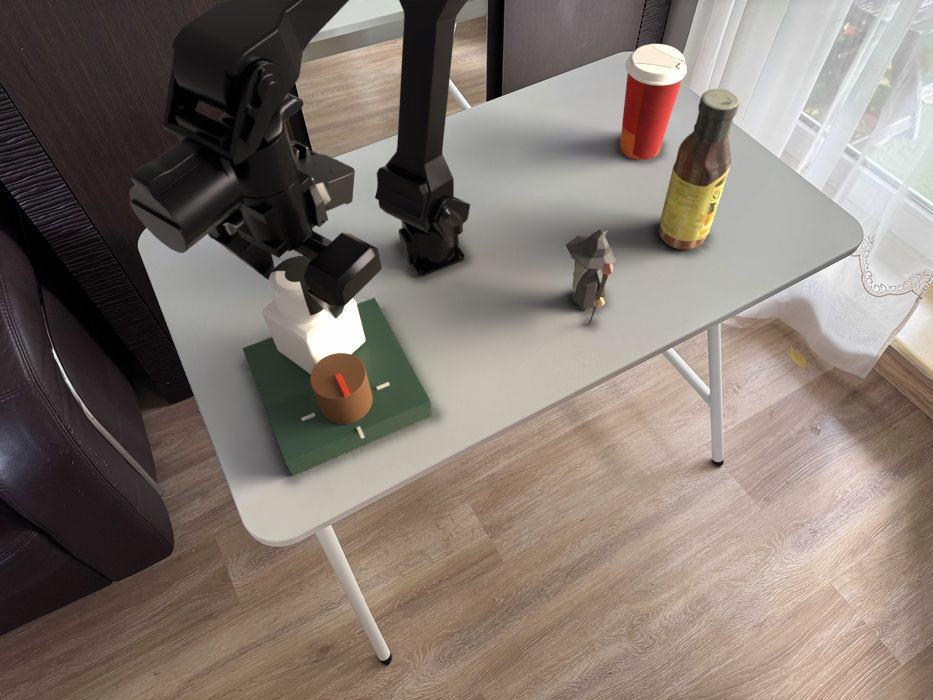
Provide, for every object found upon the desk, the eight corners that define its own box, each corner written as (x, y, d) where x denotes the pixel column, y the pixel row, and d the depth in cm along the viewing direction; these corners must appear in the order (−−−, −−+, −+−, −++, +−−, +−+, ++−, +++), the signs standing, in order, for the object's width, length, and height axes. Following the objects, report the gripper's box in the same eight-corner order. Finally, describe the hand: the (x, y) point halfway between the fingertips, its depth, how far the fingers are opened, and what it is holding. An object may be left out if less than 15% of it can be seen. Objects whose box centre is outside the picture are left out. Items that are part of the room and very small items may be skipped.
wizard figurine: (551, 293, 87) (559, 222, 77) (589, 275, 89) (601, 203, 79) (591, 340, 83) (605, 270, 73) (630, 320, 84) (648, 249, 75)
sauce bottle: (706, 255, 90) (752, 122, 74) (655, 249, 91) (690, 116, 75) (706, 219, 94) (751, 85, 78) (658, 213, 95) (692, 80, 78)
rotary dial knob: (312, 391, 76) (301, 363, 72) (361, 371, 78) (353, 343, 73) (330, 432, 73) (320, 406, 69) (380, 411, 75) (373, 384, 70)
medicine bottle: (323, 311, 83) (299, 236, 73) (367, 341, 80) (348, 267, 70) (276, 350, 80) (245, 277, 70) (321, 383, 77) (295, 311, 67)
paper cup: (675, 141, 103) (698, 51, 92) (653, 171, 99) (674, 82, 88) (625, 124, 106) (641, 35, 94) (602, 153, 102) (616, 64, 91)
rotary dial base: (377, 313, 86) (374, 296, 84) (436, 421, 77) (434, 406, 75) (249, 363, 82) (241, 347, 80) (294, 483, 73) (287, 469, 71)
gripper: (410, 162, 60) (424, 283, 73) (252, 90, 67) (290, 213, 79) (322, 242, 55) (354, 358, 68) (161, 156, 62) (217, 276, 74)
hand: (303, 295), depth 72 cm, fingers open, 9 cm apart
